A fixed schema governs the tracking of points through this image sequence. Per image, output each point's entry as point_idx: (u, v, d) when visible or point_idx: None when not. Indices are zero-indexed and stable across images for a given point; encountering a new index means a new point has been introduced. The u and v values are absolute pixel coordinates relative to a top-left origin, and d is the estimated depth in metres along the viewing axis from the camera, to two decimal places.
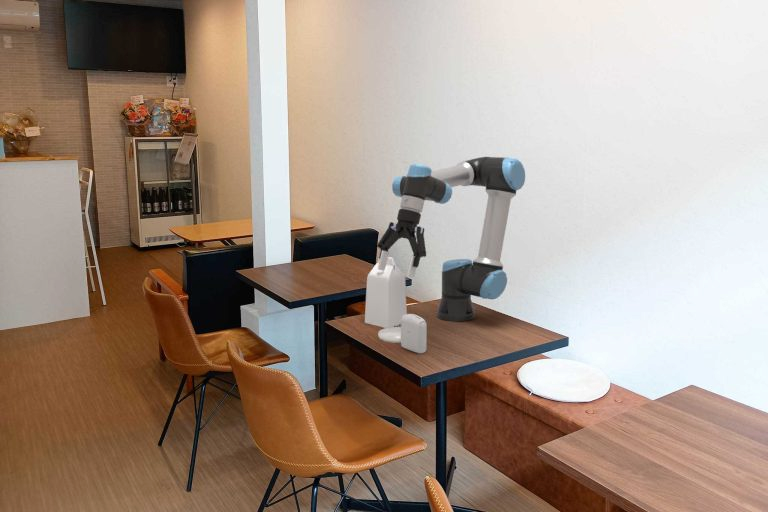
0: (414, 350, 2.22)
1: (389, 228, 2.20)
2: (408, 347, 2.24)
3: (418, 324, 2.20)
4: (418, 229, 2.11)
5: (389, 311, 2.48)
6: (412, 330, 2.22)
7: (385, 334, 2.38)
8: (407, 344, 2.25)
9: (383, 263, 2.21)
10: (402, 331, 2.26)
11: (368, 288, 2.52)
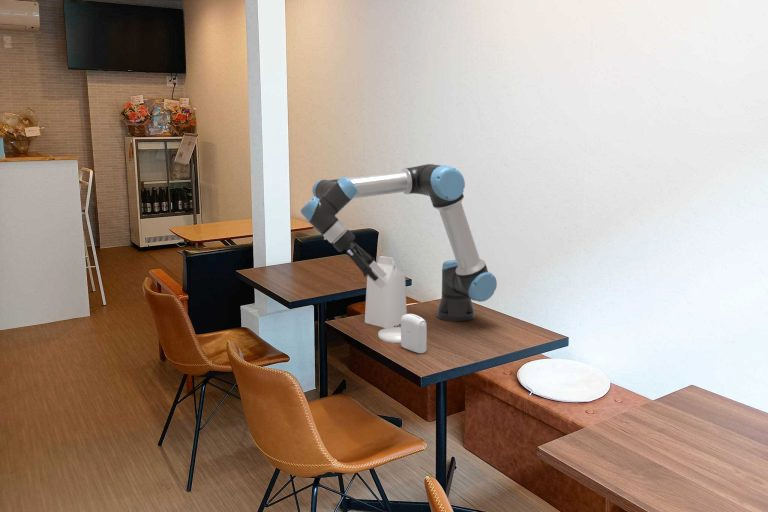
0: (414, 350, 2.22)
1: None
2: (408, 347, 2.24)
3: (418, 324, 2.20)
4: (348, 255, 2.13)
5: (389, 311, 2.48)
6: (412, 330, 2.22)
7: (385, 334, 2.38)
8: (407, 344, 2.25)
9: (379, 272, 2.27)
10: (402, 331, 2.26)
11: (368, 288, 2.52)
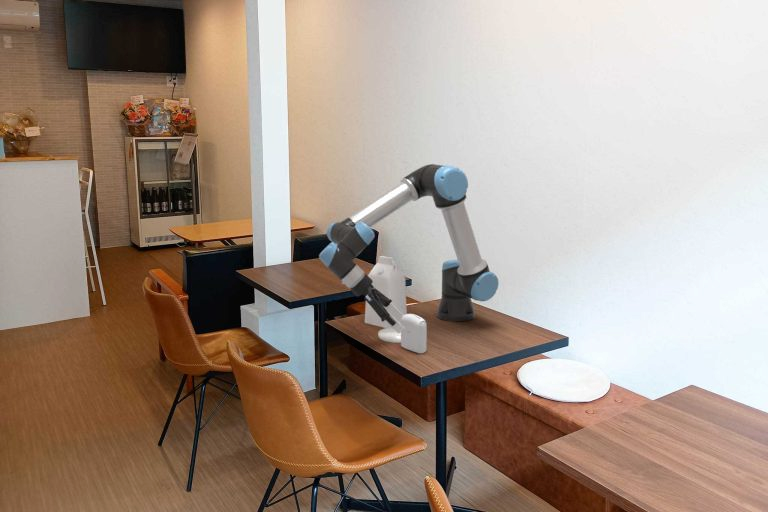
0: (414, 350, 2.22)
1: None
2: (408, 347, 2.24)
3: (418, 324, 2.20)
4: None
5: None
6: (412, 330, 2.22)
7: (385, 334, 2.38)
8: (407, 344, 2.25)
9: (396, 314, 2.29)
10: (402, 331, 2.26)
11: None
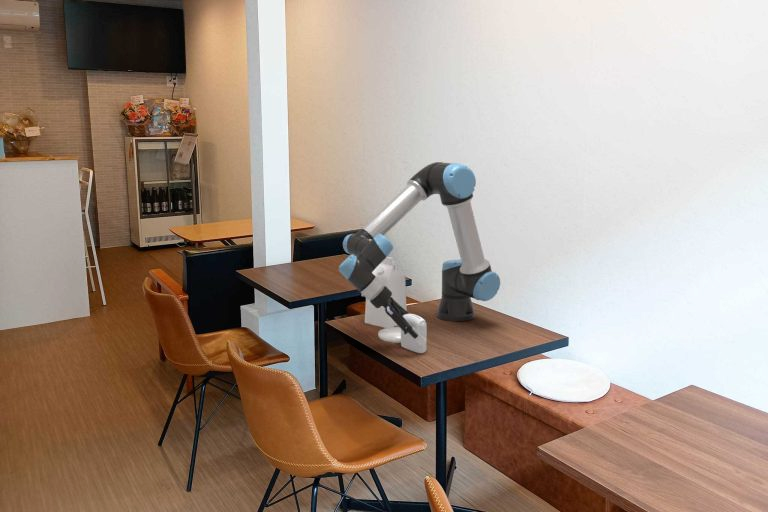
0: (414, 350, 2.22)
1: None
2: (408, 347, 2.24)
3: (418, 324, 2.20)
4: None
5: None
6: None
7: (385, 334, 2.38)
8: (407, 344, 2.25)
9: None
10: (402, 331, 2.26)
11: None
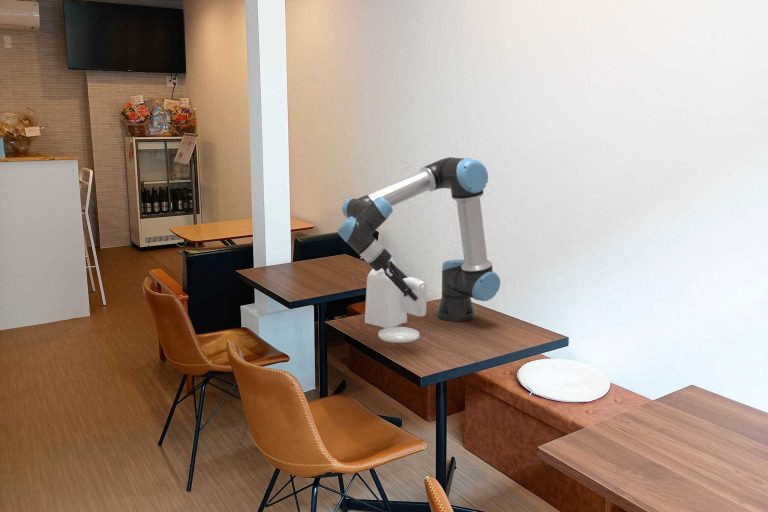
0: (413, 313, 2.21)
1: None
2: (408, 310, 2.23)
3: (417, 286, 2.18)
4: (387, 276, 2.15)
5: (389, 311, 2.48)
6: None
7: (385, 334, 2.38)
8: (406, 308, 2.23)
9: None
10: (402, 295, 2.24)
11: (368, 288, 2.52)
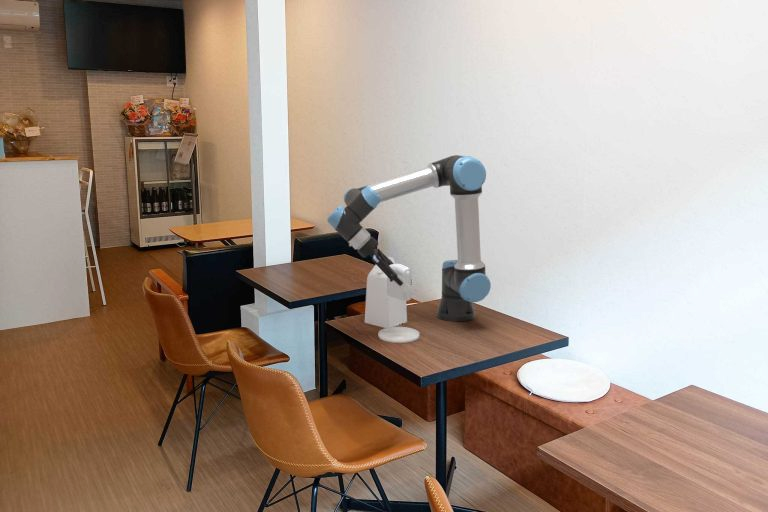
0: (399, 298, 2.32)
1: None
2: (394, 295, 2.34)
3: (403, 272, 2.29)
4: None
5: (389, 311, 2.48)
6: None
7: (385, 334, 2.38)
8: (393, 293, 2.35)
9: None
10: (388, 280, 2.36)
11: (368, 288, 2.52)
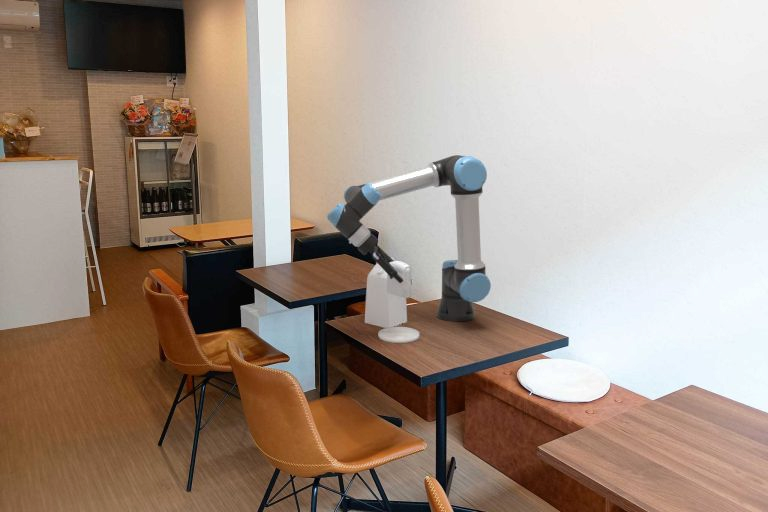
0: (399, 295, 2.32)
1: None
2: (394, 293, 2.34)
3: (403, 269, 2.29)
4: None
5: (389, 311, 2.48)
6: None
7: (385, 334, 2.38)
8: (393, 290, 2.34)
9: None
10: (388, 278, 2.36)
11: (368, 288, 2.52)
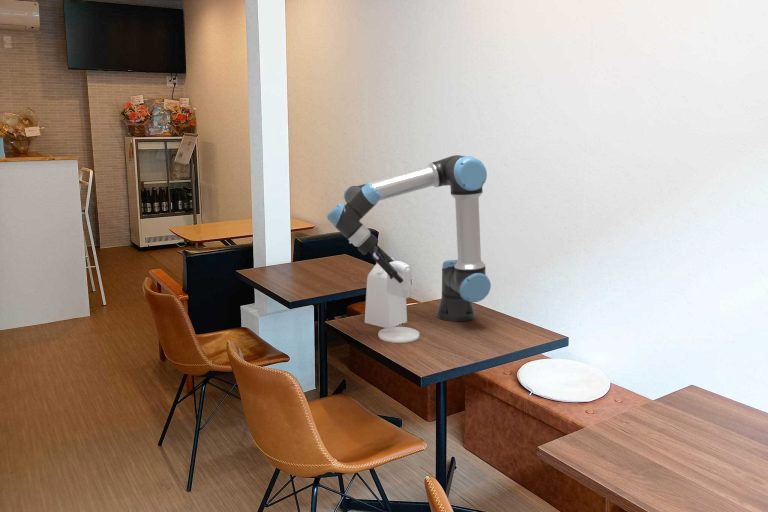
0: (399, 295, 2.32)
1: None
2: (394, 293, 2.34)
3: (403, 269, 2.29)
4: None
5: (389, 311, 2.48)
6: None
7: (385, 334, 2.38)
8: (393, 290, 2.34)
9: None
10: (388, 278, 2.36)
11: (368, 288, 2.52)
